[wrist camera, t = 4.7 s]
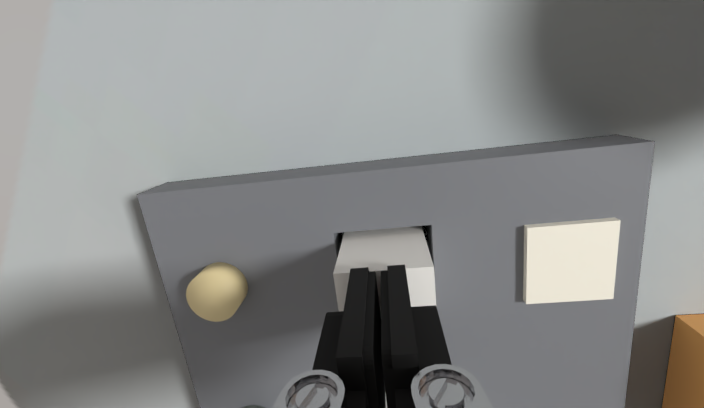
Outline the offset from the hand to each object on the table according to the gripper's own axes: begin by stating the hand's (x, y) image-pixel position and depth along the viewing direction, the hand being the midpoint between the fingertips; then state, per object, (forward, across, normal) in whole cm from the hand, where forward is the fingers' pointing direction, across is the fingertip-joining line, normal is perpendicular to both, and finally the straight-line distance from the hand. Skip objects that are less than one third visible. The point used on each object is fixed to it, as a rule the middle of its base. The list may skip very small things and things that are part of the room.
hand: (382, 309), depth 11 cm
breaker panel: (+5, 0, +7) cm, 9 cm away
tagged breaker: (+4, 0, 0) cm, 4 cm away
